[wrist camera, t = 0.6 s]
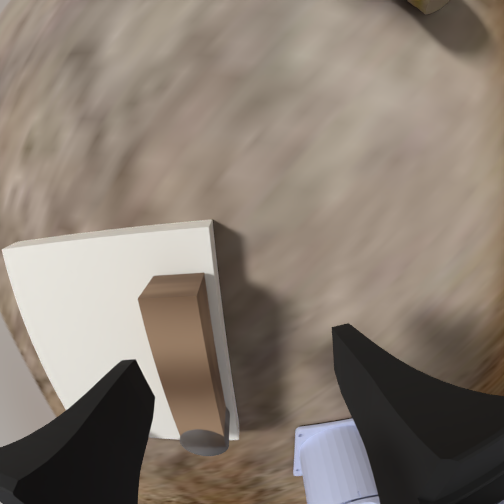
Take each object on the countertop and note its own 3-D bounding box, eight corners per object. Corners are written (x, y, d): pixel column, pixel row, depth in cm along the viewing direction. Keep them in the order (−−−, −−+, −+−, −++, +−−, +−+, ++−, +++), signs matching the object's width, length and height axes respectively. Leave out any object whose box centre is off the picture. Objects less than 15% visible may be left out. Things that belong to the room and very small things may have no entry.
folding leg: (232, 426, 21) (231, 455, 18) (189, 426, 21) (185, 455, 18) (207, 272, 17) (200, 295, 14) (150, 275, 17) (134, 298, 14)
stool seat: (239, 423, 24) (238, 462, 20) (82, 413, 24) (67, 444, 20) (212, 219, 18) (202, 239, 14) (17, 241, 18) (-20, 260, 14)
